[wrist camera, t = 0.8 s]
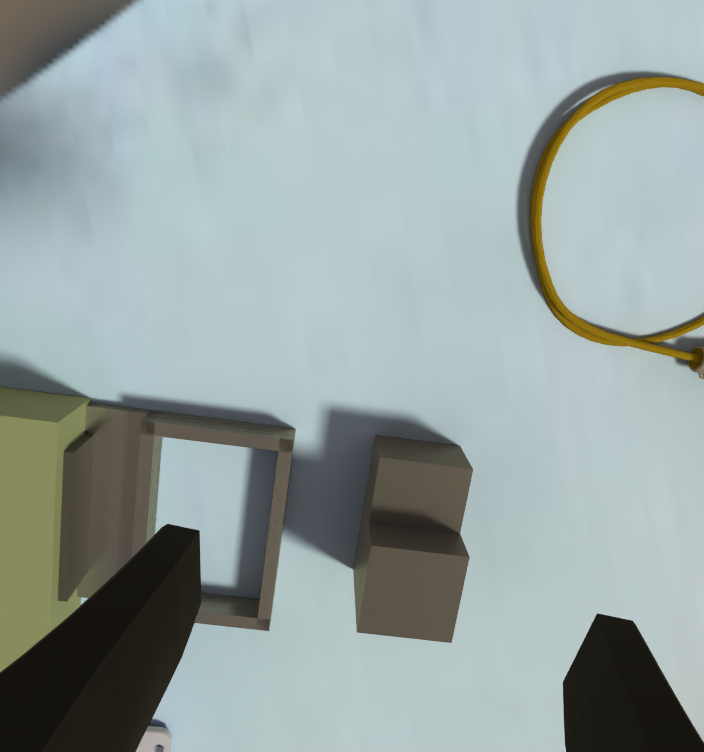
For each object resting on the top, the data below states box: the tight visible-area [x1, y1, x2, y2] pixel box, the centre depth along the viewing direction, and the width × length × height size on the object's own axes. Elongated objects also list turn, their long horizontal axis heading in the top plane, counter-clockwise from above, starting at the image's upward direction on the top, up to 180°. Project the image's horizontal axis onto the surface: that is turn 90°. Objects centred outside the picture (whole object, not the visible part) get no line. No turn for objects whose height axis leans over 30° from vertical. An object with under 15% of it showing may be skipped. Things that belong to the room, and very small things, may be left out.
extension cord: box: [530, 77, 704, 379], centre depth 27 cm, size 12×16×2 cm
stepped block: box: [353, 435, 473, 643], centre depth 28 cm, size 7×4×5 cm, turn 172°
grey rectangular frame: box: [77, 403, 296, 631], centre depth 29 cm, size 10×9×2 cm
